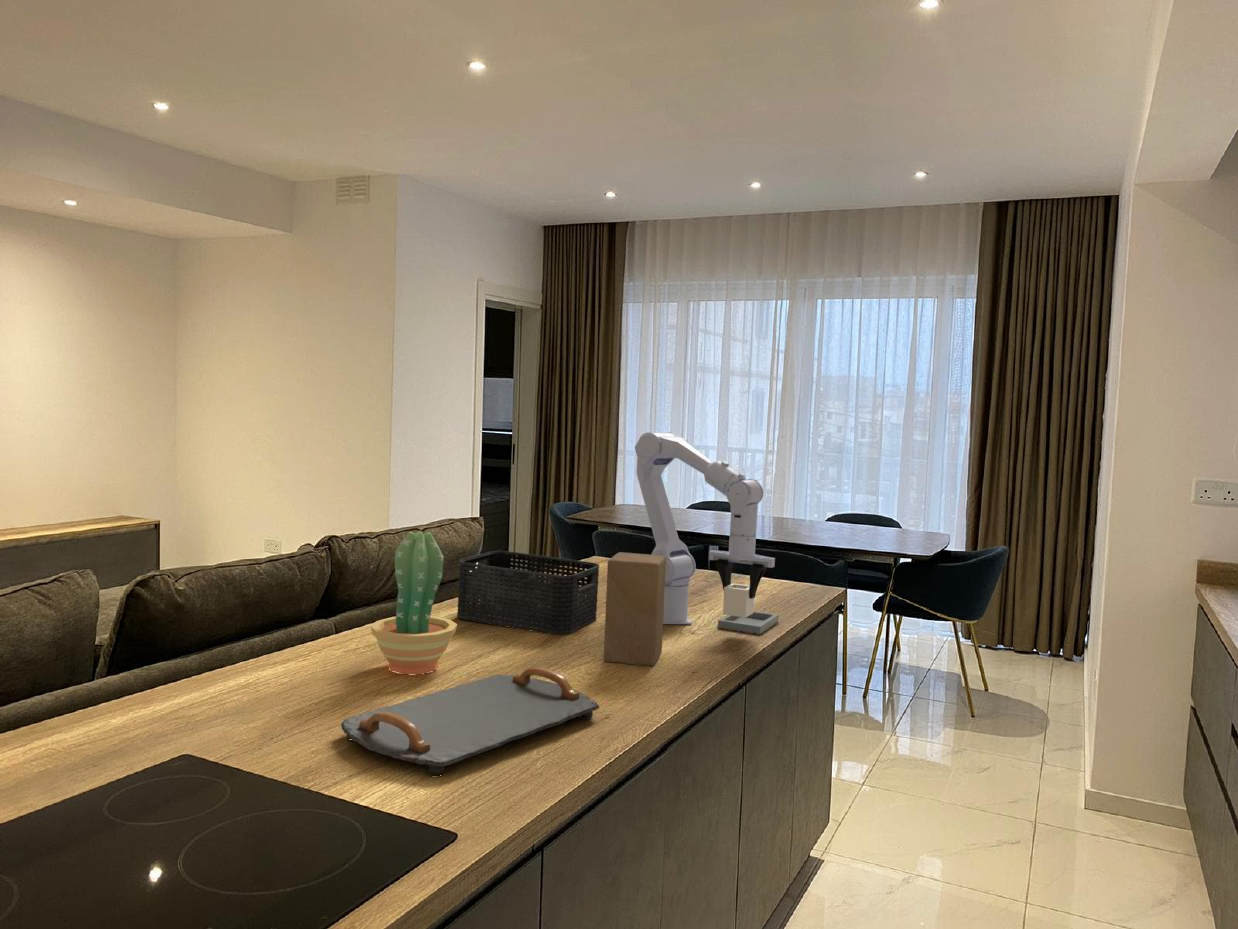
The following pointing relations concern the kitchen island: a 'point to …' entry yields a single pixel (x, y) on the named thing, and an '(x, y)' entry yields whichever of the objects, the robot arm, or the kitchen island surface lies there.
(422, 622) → the potted cactus
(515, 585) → the storage bin
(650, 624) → the wooden block
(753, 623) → the tray
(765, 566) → the robot arm
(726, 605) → the cream block
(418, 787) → the kitchen island surface
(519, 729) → the serving board
